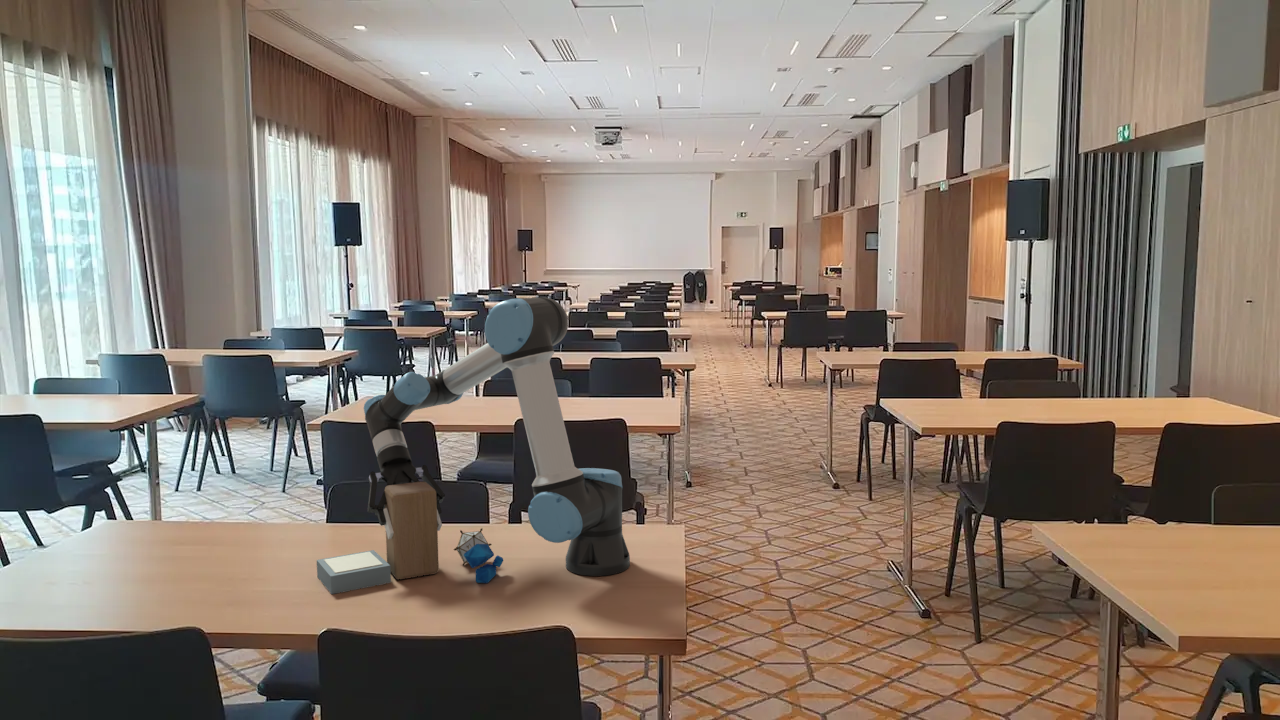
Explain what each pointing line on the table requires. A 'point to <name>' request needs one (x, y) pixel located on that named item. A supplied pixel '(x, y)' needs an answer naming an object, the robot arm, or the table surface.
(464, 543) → the game die
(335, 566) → the base
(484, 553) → the blue faceted figurine
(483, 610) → the table surface
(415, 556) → the wooden block
